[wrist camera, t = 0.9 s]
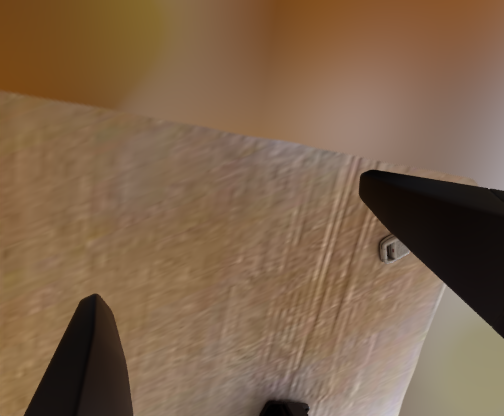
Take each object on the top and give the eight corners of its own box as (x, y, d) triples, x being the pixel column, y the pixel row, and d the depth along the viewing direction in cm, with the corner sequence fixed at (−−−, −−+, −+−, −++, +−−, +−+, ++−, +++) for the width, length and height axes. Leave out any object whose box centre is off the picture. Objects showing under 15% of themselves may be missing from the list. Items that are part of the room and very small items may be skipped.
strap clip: (379, 262, 36) (409, 281, 32) (377, 240, 34) (408, 257, 31) (432, 235, 38) (466, 249, 34) (433, 214, 37) (468, 226, 33)
